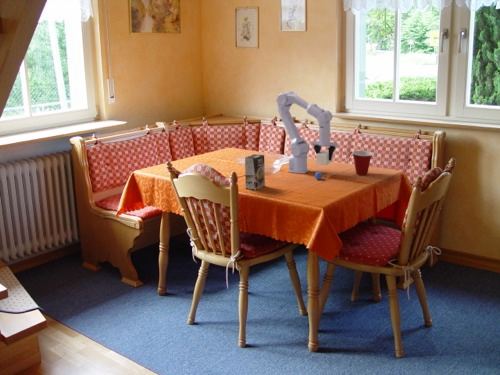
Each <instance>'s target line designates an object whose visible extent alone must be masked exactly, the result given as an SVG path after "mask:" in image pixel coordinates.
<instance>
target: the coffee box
mask: <svg viewBox="0 0 500 375" xmlns="http://www.w3.org/2000/svg"><path fill="white" fill-rule="evenodd" d="M244 168H245V169H244V171H245V172H244V173H245V174H244V176H245V189H246V188H248V189H247V190H252V189H254V190H253V191H257V190H259V189H261V188H264V187H265V186H266V171H265V169H266V168H265V154H255V153H253V154H251V155H249V156H246V157H244ZM263 186H264V187H263ZM256 189H257V190H256Z"/></svg>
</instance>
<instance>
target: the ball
mask: <svg viewBox="0 0 500 375" xmlns="http://www.w3.org/2000/svg"><path fill="white" fill-rule="evenodd" d="M314 178H315V179H316V180H322V178H323V173H322V172H321V171H316V172H315V174H314Z"/></svg>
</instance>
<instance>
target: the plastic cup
mask: <svg viewBox="0 0 500 375" xmlns="http://www.w3.org/2000/svg"><path fill="white" fill-rule="evenodd" d="M351 152H352V155H353V161H354V162H353V163H354V169H355V175H357V176H367V175H368V174H369V173H368V172H369V168H370V165H371V159H372V156H373V154H374V153H373V152H371V151H368V150H353V151H351Z"/></svg>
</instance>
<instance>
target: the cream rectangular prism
mask: <svg viewBox="0 0 500 375" xmlns="http://www.w3.org/2000/svg"><path fill="white" fill-rule="evenodd" d="M333 156H334V155H332V160H330V161H329V150H322V151H320V153H318V154H316V165H320V166H328V165H329V164H330V163H333V160H334V157H333Z"/></svg>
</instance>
